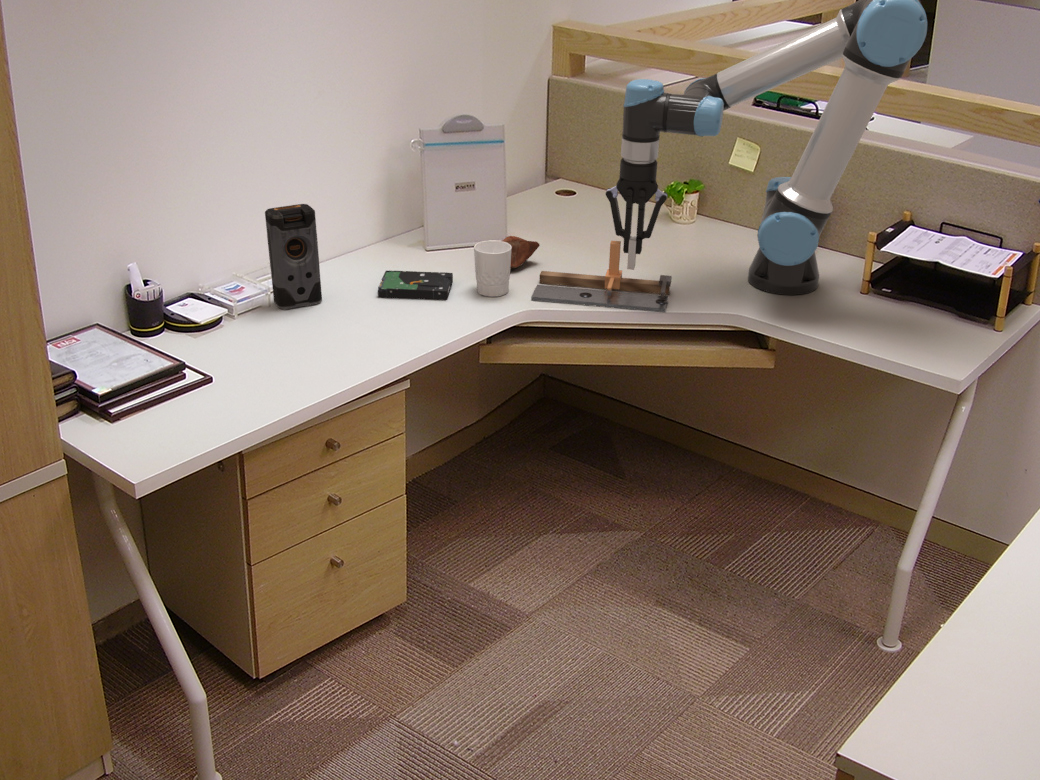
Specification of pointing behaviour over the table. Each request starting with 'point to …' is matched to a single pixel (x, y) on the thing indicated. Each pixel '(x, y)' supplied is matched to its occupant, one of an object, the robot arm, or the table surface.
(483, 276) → the white cup
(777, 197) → the robot arm
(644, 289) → the beam
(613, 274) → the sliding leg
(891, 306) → the table surface
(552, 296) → the metal board
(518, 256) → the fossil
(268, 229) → the electronic device
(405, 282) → the disk drive
